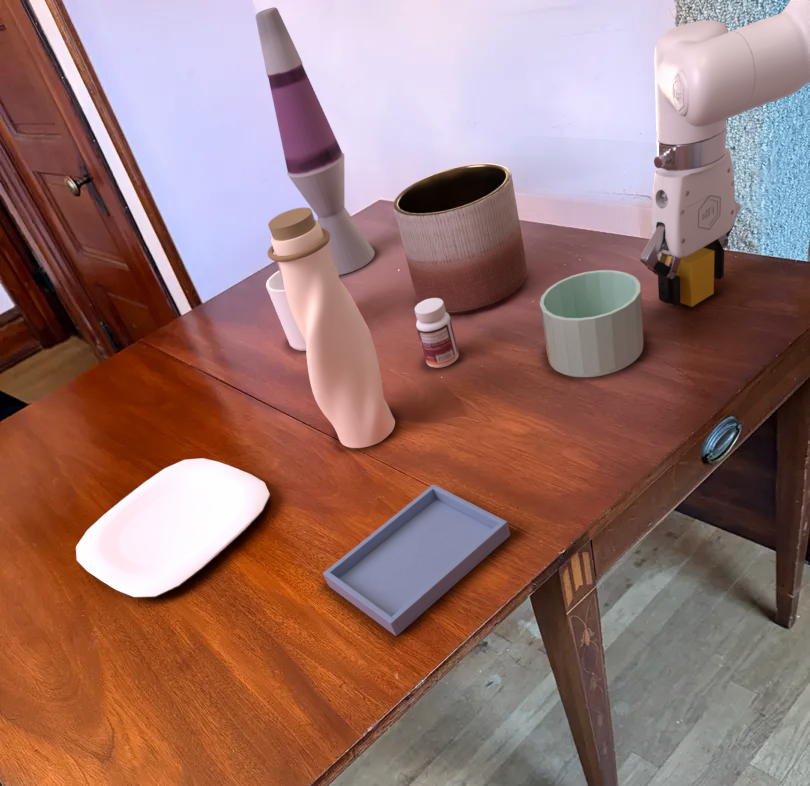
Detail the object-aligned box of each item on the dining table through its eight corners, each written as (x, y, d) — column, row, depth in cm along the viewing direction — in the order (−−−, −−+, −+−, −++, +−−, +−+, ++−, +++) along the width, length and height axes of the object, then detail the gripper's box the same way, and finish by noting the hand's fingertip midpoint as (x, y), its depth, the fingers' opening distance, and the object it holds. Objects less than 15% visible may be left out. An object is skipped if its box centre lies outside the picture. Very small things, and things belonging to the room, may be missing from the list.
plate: (63, 559, 94) (56, 550, 93) (191, 457, 104) (186, 447, 103) (157, 621, 81) (150, 611, 80) (293, 497, 91) (288, 487, 90)
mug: (331, 351, 116) (309, 289, 109) (279, 352, 120) (254, 293, 113) (364, 308, 123) (345, 249, 116) (313, 311, 128) (292, 254, 121)
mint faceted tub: (643, 321, 99) (641, 264, 93) (643, 372, 91) (640, 312, 85) (552, 332, 103) (544, 277, 97) (544, 381, 95) (535, 325, 89)
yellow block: (690, 286, 102) (690, 244, 98) (713, 293, 99) (714, 250, 95) (668, 299, 101) (667, 257, 97) (691, 307, 98) (691, 264, 94)
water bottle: (314, 436, 100) (227, 231, 81) (363, 400, 103) (290, 195, 84) (362, 460, 93) (279, 242, 74) (412, 420, 96) (345, 203, 78)
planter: (512, 251, 124) (496, 152, 114) (542, 294, 111) (526, 187, 100) (410, 284, 125) (385, 188, 115) (427, 331, 112) (400, 228, 102)
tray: (437, 497, 84) (433, 483, 83) (510, 535, 77) (507, 521, 75) (328, 586, 78) (322, 573, 77) (396, 636, 71) (390, 623, 70)
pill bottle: (434, 349, 108) (420, 296, 102) (464, 350, 105) (451, 295, 100) (420, 368, 105) (405, 314, 99) (451, 369, 103) (437, 314, 97)
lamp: (318, 281, 136) (227, 28, 110) (321, 257, 144) (237, 15, 117) (374, 266, 134) (296, 5, 108) (375, 243, 142) (302, -7, 116)
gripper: (660, 184, 83) (664, 326, 95) (770, 123, 87) (761, 267, 99) (612, 174, 88) (621, 311, 100) (718, 117, 92) (715, 255, 104)
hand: (691, 288), depth 99 cm, fingers open, 7 cm apart
